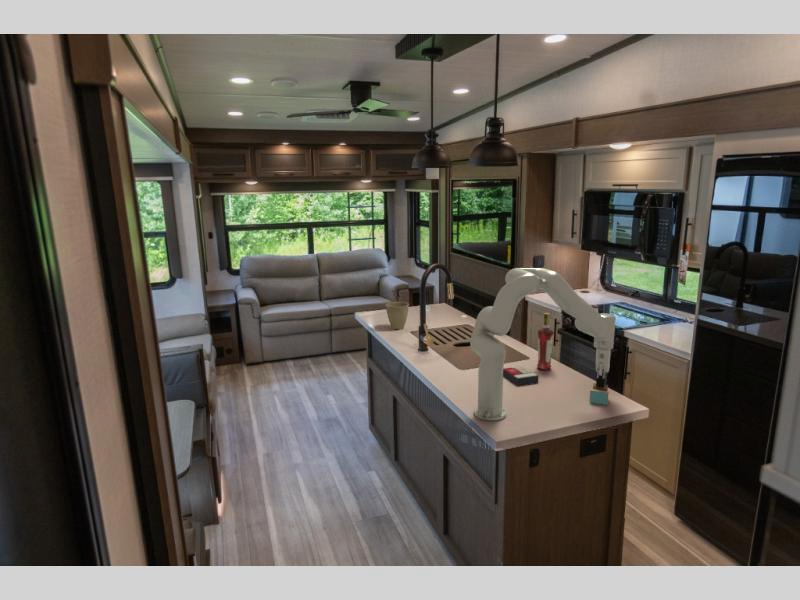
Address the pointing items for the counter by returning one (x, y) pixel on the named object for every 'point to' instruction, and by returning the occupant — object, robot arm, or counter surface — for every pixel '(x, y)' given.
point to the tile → (599, 396)
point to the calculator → (520, 375)
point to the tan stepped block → (601, 387)
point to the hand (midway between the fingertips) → (600, 384)
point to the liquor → (545, 345)
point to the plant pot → (397, 314)
